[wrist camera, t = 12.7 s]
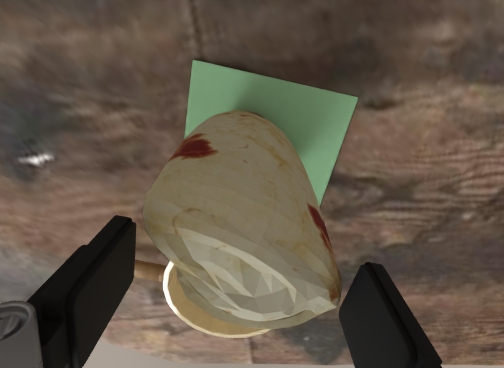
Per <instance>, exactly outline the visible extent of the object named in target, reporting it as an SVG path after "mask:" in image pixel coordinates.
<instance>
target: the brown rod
mask: <svg viewBox="0 0 504 368" xmlns="http://www.w3.org/2000/svg"><path fill="white" fill-rule="evenodd" d="M166 267H167V266H165V265H160V264H155V263H150V262H144V261H139V260H135V271H134V277H139V278H144V279H149V280H155V281H163V279H164V271H165V269H166Z"/></svg>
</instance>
